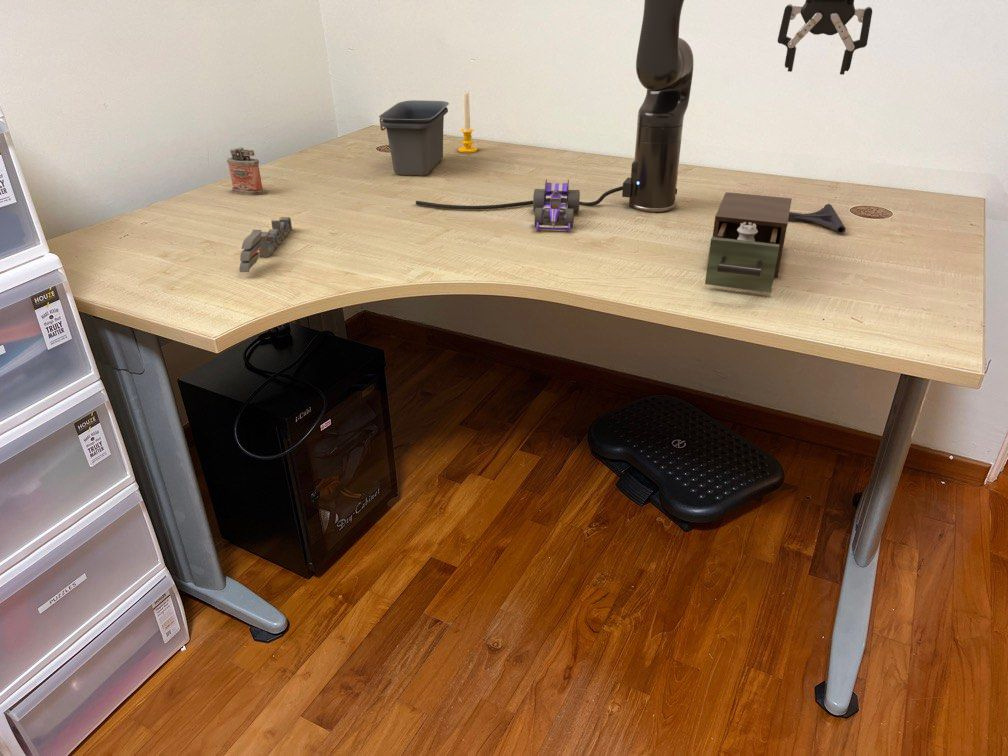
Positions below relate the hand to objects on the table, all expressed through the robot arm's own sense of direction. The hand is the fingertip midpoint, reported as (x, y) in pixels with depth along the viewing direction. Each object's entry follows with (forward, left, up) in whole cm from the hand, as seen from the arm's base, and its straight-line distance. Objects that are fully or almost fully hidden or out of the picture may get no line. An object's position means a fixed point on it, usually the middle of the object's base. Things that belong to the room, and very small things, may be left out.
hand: (815, 72), depth 132 cm
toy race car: (-45, -6, -30) cm, 54 cm away
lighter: (-118, -10, -30) cm, 122 cm away
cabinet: (-6, -15, -30) cm, 34 cm away
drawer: (-6, -27, -29) cm, 40 cm away
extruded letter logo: (-90, -41, -30) cm, 103 cm away
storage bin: (-91, +22, -30) cm, 98 cm away
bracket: (+2, +10, -30) cm, 32 cm away
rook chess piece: (-6, -26, -28) cm, 39 cm away
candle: (-85, +42, -30) cm, 99 cm away
